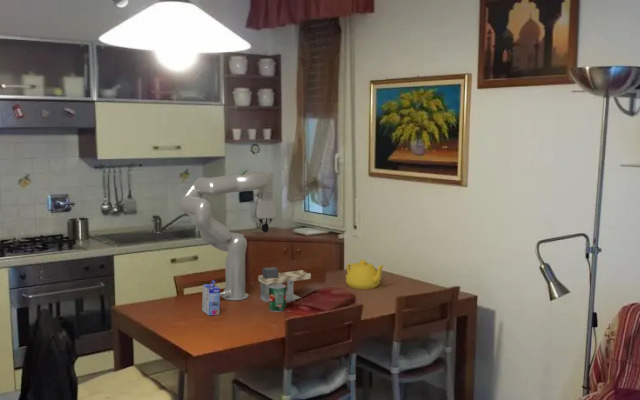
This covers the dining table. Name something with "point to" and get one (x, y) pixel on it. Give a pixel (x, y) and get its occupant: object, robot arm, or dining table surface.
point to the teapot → (363, 275)
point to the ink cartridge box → (211, 299)
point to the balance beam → (286, 277)
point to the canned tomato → (277, 297)
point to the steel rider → (270, 272)
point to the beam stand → (289, 292)
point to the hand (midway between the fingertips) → (265, 231)
